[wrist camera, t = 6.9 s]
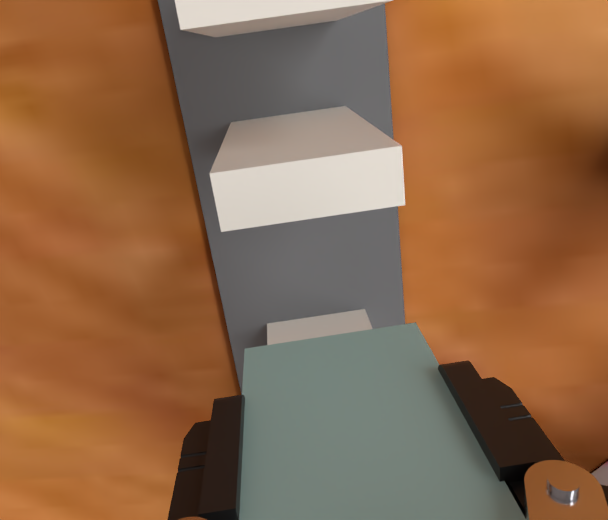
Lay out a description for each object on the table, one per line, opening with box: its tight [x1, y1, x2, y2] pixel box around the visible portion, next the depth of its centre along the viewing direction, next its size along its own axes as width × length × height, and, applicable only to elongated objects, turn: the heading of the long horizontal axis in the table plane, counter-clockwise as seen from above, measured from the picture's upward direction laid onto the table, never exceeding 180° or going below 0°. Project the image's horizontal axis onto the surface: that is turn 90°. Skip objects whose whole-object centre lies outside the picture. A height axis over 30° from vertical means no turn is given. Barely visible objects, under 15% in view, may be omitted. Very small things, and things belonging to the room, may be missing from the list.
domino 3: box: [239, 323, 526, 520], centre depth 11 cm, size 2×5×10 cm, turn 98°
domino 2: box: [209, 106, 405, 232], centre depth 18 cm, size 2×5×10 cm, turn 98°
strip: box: [158, 0, 405, 395], centre depth 26 cm, size 30×9×1 cm, turn 7°
